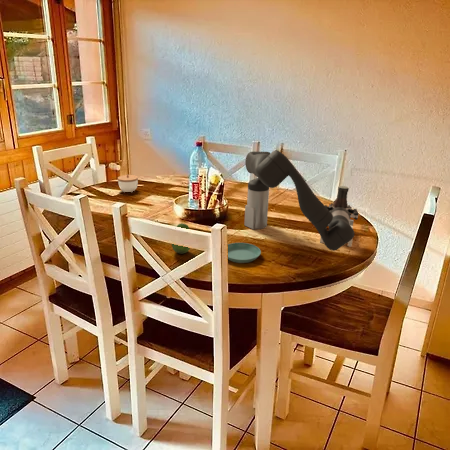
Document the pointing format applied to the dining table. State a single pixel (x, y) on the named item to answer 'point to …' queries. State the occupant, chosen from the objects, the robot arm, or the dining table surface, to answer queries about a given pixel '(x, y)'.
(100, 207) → the dining table surface
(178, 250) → the avocado
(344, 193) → the sauce bottle
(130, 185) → the lidded jar
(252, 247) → the saucer
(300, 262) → the dining table surface
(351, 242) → the channel
